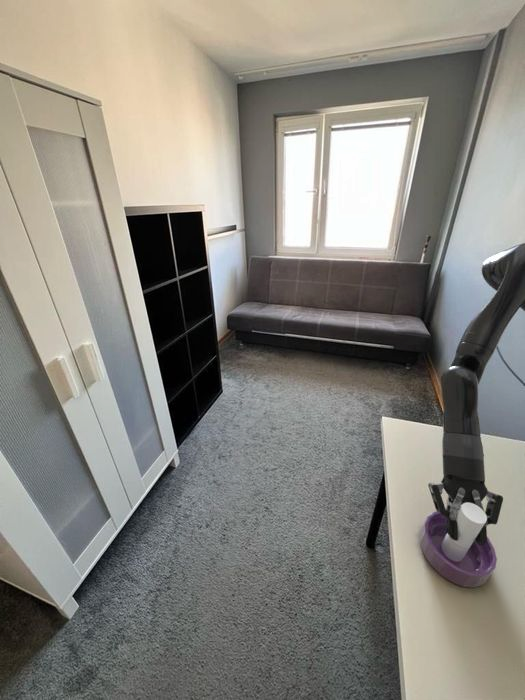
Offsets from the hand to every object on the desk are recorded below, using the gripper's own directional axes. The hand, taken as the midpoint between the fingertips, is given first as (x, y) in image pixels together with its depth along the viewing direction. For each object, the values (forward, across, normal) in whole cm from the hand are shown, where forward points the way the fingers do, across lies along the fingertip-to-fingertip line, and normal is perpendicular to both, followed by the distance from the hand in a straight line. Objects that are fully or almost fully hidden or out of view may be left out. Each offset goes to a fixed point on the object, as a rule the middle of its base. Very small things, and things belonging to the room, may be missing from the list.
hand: (466, 541), depth 58 cm
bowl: (+5, 0, -7) cm, 9 cm away
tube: (+4, 0, -7) cm, 9 cm away
